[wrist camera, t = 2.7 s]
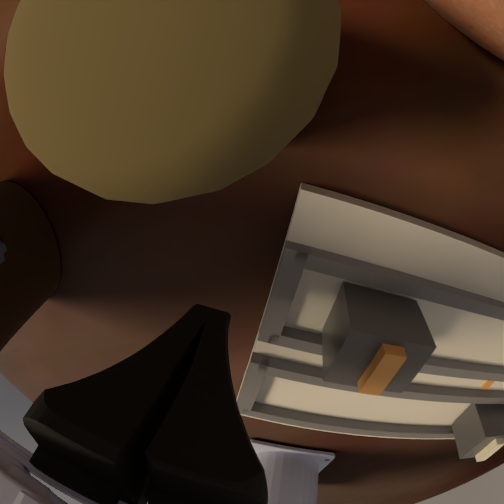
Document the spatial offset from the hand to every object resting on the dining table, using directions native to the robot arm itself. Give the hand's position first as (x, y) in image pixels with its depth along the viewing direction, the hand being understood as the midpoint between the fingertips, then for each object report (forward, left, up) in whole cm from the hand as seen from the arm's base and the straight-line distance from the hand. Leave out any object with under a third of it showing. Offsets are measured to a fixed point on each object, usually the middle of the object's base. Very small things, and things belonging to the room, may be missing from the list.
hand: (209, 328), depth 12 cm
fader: (-7, -21, -4) cm, 22 cm away
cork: (+9, +1, -5) cm, 10 cm away
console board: (-3, -15, -5) cm, 16 cm away
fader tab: (0, -7, -4) cm, 8 cm away
